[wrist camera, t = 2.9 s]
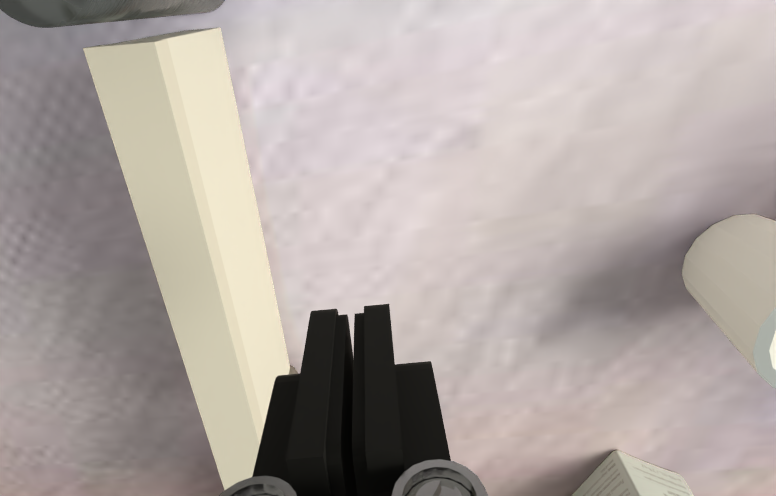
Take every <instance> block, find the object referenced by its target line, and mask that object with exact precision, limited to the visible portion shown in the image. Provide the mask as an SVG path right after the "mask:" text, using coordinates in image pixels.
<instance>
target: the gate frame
mask: <svg viewBox="0 0 776 496" xmlns="http://www.w3.org/2000/svg"><path fill="white" fill-rule="evenodd" d="M224 1H225V0H0V9H1V10H2V11H3V12H5V13H6V14H7V15H9V16H10V17H12V18H14V19H16V20H18V21H20V22H22V23H25V24H27V25H31V26H35V27H42V28H51V27H61V26H72V25H82V24H93V23H103V22H114V21H124V20H134V19H145V18H155V17H166V16H176V15H187V14H197V13H207V12H211V11H214V10H216V9H217V8H219V7H220V6H221V5H222V4H223V2H224Z"/></svg>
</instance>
